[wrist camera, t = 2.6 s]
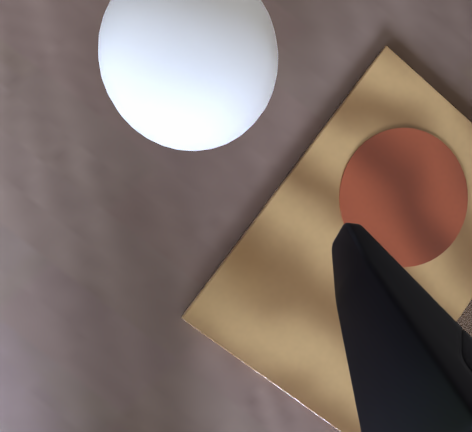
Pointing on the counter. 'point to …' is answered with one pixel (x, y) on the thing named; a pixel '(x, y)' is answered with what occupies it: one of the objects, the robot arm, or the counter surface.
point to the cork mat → (329, 224)
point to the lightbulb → (188, 68)
